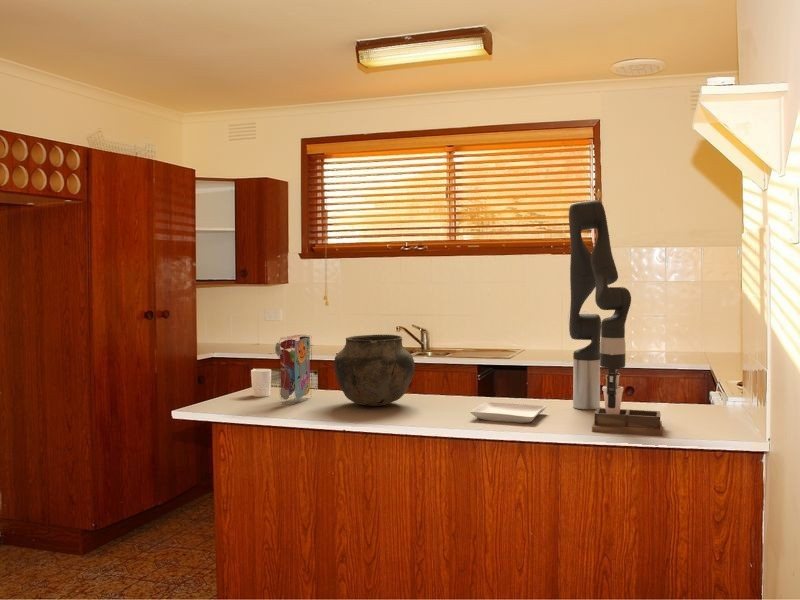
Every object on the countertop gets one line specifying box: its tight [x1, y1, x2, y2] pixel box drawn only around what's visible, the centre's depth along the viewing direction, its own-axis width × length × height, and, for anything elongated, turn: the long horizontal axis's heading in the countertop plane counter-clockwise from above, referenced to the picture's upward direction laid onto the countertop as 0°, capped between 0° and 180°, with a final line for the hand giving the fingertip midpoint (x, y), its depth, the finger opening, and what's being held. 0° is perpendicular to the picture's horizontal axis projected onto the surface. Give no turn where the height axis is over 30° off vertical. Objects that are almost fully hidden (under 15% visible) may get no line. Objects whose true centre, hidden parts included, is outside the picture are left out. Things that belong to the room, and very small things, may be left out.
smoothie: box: [601, 385, 624, 414], centre depth 232 cm, size 6×6×14 cm
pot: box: [333, 334, 415, 407], centre depth 271 cm, size 29×32×25 cm
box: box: [274, 334, 313, 406], centre depth 277 cm, size 25×6×24 cm, turn 163°
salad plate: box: [469, 401, 547, 424], centre depth 250 cm, size 21×21×3 cm
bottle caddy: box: [591, 407, 663, 437], centre depth 231 cm, size 15×20×5 cm
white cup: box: [250, 368, 272, 398], centre depth 294 cm, size 8×8×10 cm
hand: (612, 405), depth 232 cm, fingers closed on smoothie, 5 cm apart
